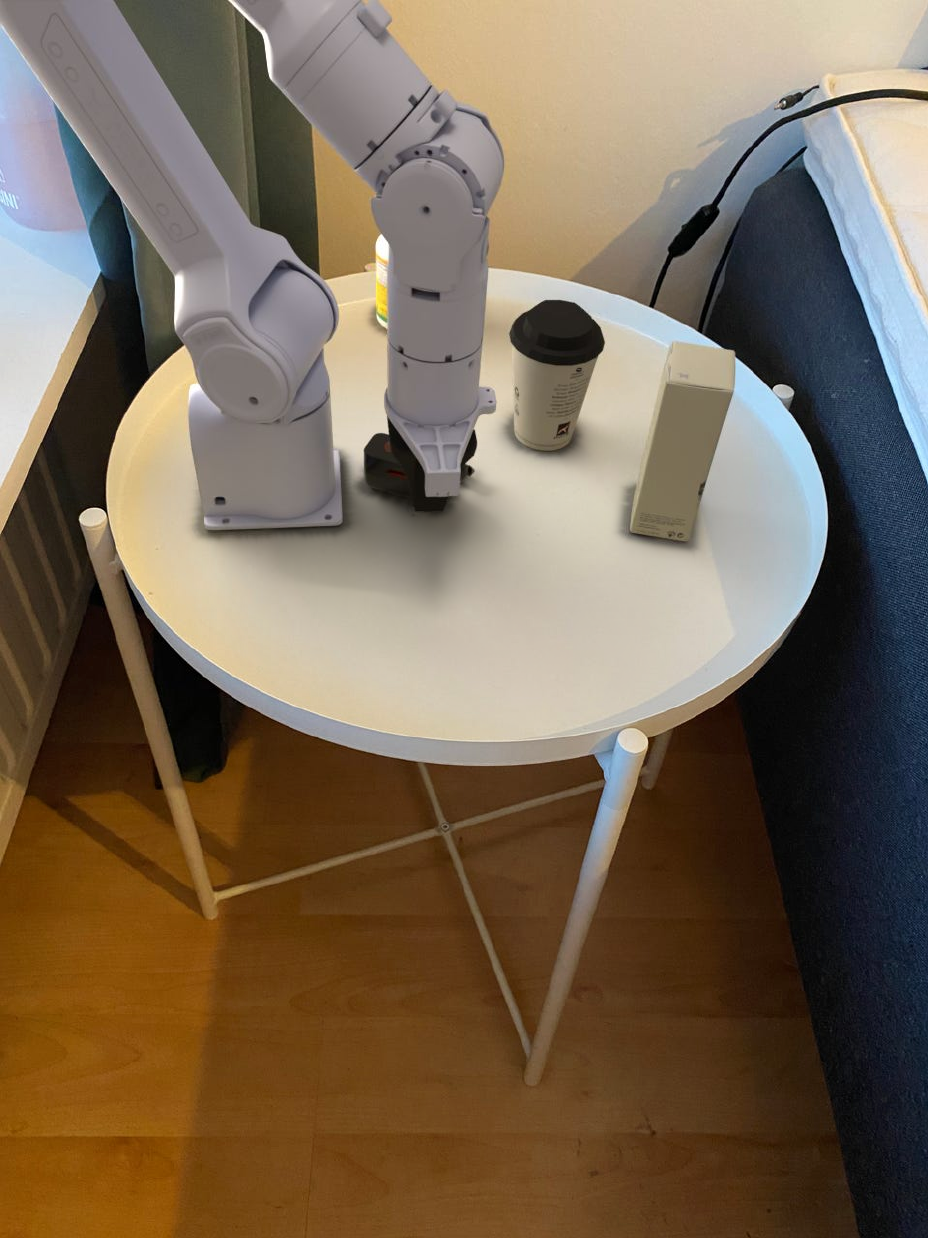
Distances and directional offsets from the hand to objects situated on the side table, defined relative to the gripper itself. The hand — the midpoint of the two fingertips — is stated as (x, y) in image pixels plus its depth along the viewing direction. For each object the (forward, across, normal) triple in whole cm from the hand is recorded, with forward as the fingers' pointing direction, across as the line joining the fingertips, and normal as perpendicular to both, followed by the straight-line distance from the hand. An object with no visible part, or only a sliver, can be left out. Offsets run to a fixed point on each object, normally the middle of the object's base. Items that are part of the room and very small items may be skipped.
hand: (428, 506), depth 68 cm
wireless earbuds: (+2, +4, 0) cm, 4 cm away
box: (+2, 0, -17) cm, 17 cm away
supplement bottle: (+2, +26, 0) cm, 26 cm away
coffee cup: (+2, +10, -10) cm, 14 cm away
